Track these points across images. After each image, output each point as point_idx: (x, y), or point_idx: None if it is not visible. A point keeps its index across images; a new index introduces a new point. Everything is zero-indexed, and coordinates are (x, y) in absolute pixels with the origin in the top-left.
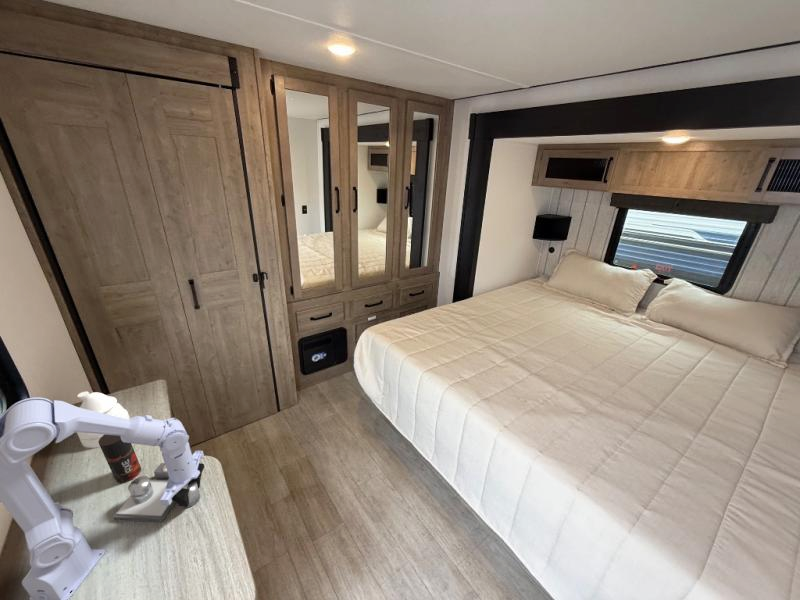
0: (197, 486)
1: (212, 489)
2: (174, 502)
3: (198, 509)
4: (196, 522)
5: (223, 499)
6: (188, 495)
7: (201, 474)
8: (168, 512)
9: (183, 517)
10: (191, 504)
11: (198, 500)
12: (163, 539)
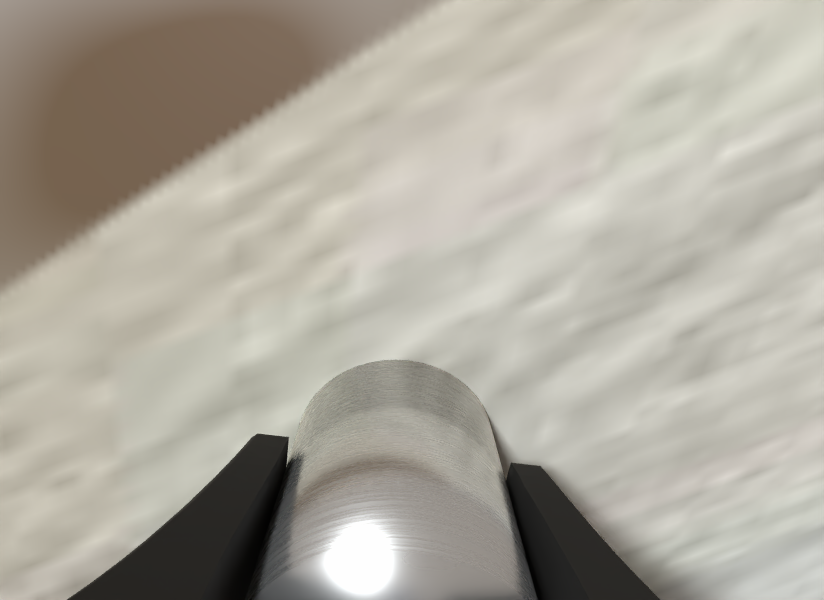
0: (337, 510)
1: (259, 253)
2: None
3: (539, 318)
4: (717, 274)
5: (440, 11)
6: (528, 582)
7: (86, 593)
8: None
9: (605, 437)
10: (489, 426)
11: (419, 366)
12: (799, 513)
